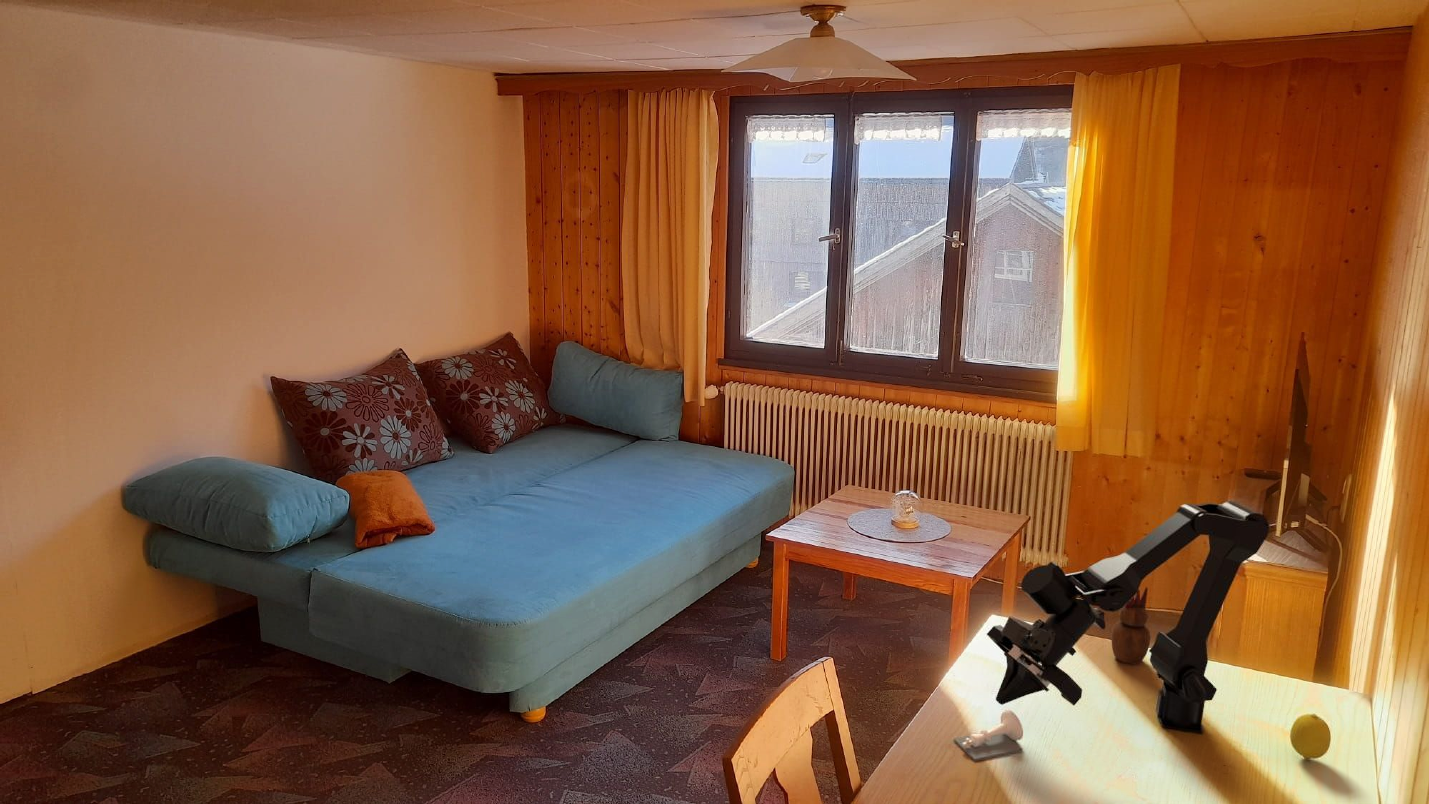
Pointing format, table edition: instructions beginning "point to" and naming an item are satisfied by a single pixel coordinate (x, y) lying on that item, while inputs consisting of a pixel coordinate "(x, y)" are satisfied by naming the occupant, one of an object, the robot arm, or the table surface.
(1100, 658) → the table surface
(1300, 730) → the lemon
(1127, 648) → the wooden figurine
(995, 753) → the slate mat
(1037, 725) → the table surface
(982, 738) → the chess piece
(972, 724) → the table surface
